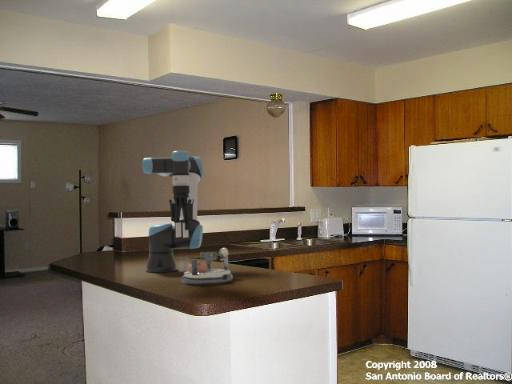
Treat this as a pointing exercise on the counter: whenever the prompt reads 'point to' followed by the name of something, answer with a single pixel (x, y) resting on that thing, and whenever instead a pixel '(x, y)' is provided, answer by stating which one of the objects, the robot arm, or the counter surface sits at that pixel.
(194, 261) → the platter
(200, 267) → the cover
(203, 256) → the mechanical component
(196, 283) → the turntable base
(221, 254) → the indicator stand
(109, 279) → the counter surface
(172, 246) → the robot arm
